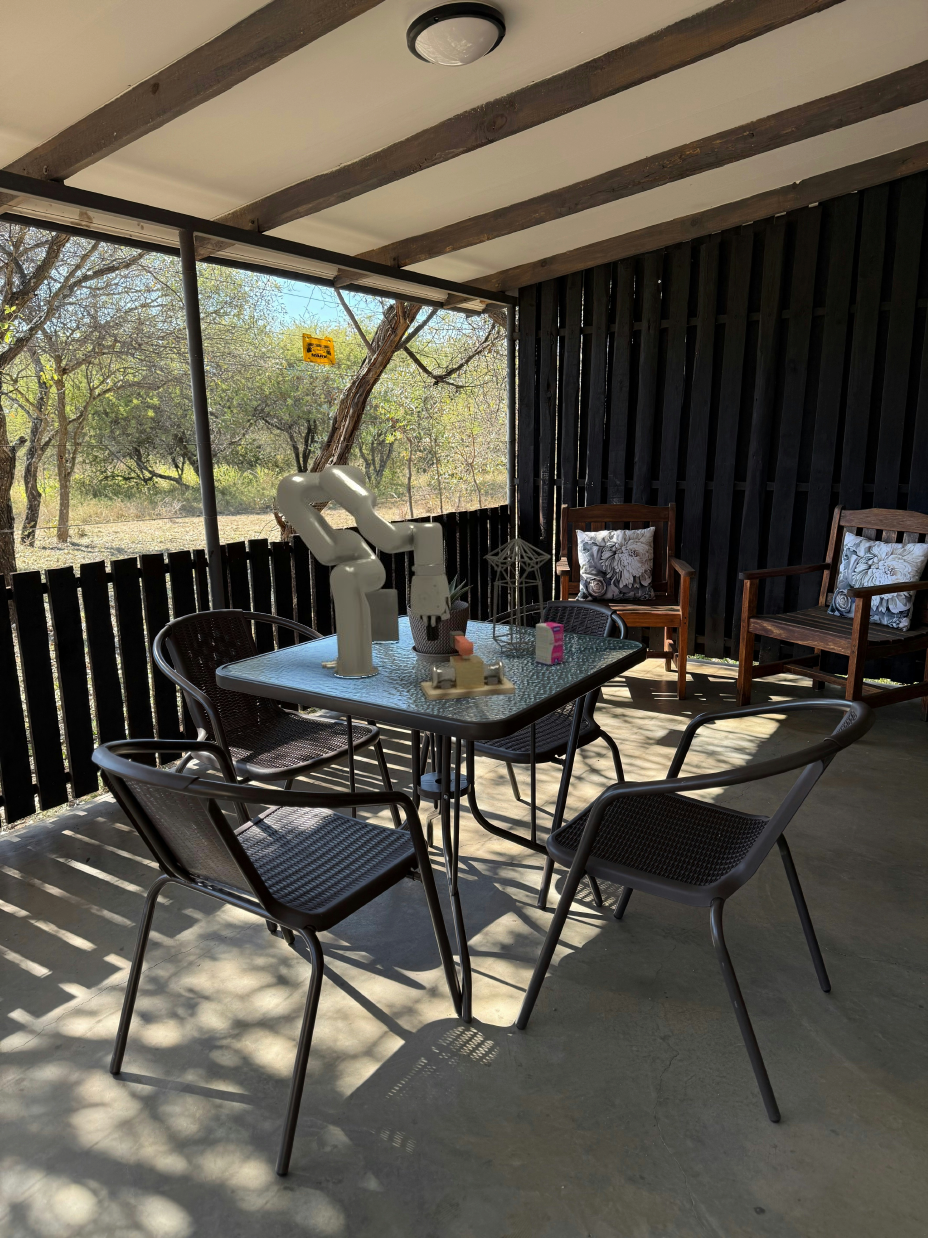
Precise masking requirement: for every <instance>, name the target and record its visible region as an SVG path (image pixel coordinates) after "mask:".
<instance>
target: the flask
mask: <svg viewBox="0 0 928 1238" xmlns="http://www.w3.org/2000/svg"><path fill="white" fill-rule="evenodd" d="M364 594H365V597H366V599H367V602H368V604H369V608H370V618H371V638H372V642H374V641H398V640H399V641H400V630H399V629H400V628H399V627H400V626H399V625H400V624H399V623H400V622H399V604H398V603H399V602H398V601H399V600H398V590H397V589H394V588H389V589H388V588H386V589H385V588H383V589H382V588H379V589H377V590H375V591H372V592H368V593H364Z"/></svg>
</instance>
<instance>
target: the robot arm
mask: <svg viewBox="0 0 928 1238" xmlns="http://www.w3.org/2000/svg"><path fill="white" fill-rule="evenodd" d="M377 498H378V497H377V495H376V493H375V492H374V491H372V490H371V489H370V488H369V487H368V486H367V478H366V476H365V474H364V472H363V471H362V469H360V468H359V467H358V466H355V465H351V464H346V465H345V464H344V465H343V464H342V465H341V464H338V465H336V464H335V465H329V466H327V467H325V468H324V469H323V470H321V471H320V472H295V473H291V474H287V475H285V476H284V477H282V479H280V481H279V482H278V485H277V487H276V501H277V506H278V508H279V510H280V512H281V514H282V516H283V517H284V519H285V520H286V521H287V523H289V524H290V526H291V527H292V529H294V531H296V533H297V534H298V535H299V537H300V538H301V540H302V541H303V542H304V544H305V545H306V547H307V548H308V549H309V550H310V551H311V553H312V555H313V556H314V557H315V558H316V560H317V561H318V562H319V563H320V564H321V565H324V566H335V567H333V569H332V571H331V573H330V577H329V583H330V588H331V592H332V593H331V594H332V596H333V597H332V598H333V602H334V611H335V613H334V614H335V627H336V644H337V657H336V659H333V661H327V660H326V661H322V662H321V669H326V670H332V669H333V671H332V672H333V673H334V674H336V675H339V676H343V677H362V676H369V675H373V674H376V673H378V674H379V671H380V669H379V667H378V666H375V665H374V662H373V644H372V638H371V618H370V608H369V604H368V602H367V599H366V597H365V594H364V593H368V592H372V591H375V590H377V589H382V587H383V585H384V584H385V582H386V569H385V568H384V565H383V563H382V562H381V560H380V559H379V558H378V556H377V555H376V554H375V553H374V551H373V550H372V548H370V546H369V545H368V544H367V542H366V541H365V540H367V541H368V542H369V543H371V544H372V545H373V546H374V547H375V548H377V549H378V550H380V551H382V552H384V553H387V554H395V553H402V552H407V551H408V552H409V551H413V556H414V565H412V566H411V570H412V572H414V575H413V576H412V578H411V586H410V610H411V613H412V614H413V617H415V618H417V619H420V620H421V622H422V623H423V625H424V626H425V631H426V632H425V633H426V641H427V642H435V641H439V640H440V626H439V625H441V624H442V622H443V620H444V621H445V620H447V619H450V618H451V615H450V612H451V607H452V604H451V594H450V587H449V583H448V577H447V575H445V565H444V541H443V527H442V525H441V524H440V523H439V522H414V521H412V522H411V521H405V522H404V521H403V522H401V521H400V522H392V523H390V522H389V521H387V520H386V519H385V518H383V517H382V516H381V515H380V514H378V512H376V510H375V508H376V505H377V502H378V499H377ZM331 501H334V503H336V504H337V505H338V506H340V507H341V508H342V509H343V510H344V511H346V512H347V513H348V514H349V515H351V517H353V519H354V522H355V524H356V528H358V531H359V533H360V534H361V535H362V536H363V537H362V536H361V535H360V534H359V533H358V532H355V531H354V530H351V529H334V528H333V526H331V524H330V523H329V522H328V521H327V519H326V518H325V516H324V515H323V514H322V513H320V511H318V509H316V508H314V507H313V506H312V505H310V504H317V503H326V502H327V503H328V502H331ZM364 538H365V539H364ZM334 674H333V675H334ZM376 675H377V674H376Z"/></svg>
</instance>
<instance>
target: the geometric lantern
mask: <svg viewBox="0 0 928 1238" xmlns="http://www.w3.org/2000/svg"><path fill="white" fill-rule="evenodd" d="M504 548H505V549H504ZM502 550H503V551H502ZM524 550H525V551H526V553H525V551H524ZM533 550H535V551H536V552H538V553H540V554H542V555H539V556H538V555H537V554H536V553H535V552H534V551H533ZM499 551H502V552H500V553H499V554H498V555H497V556H492V555H494V554H496V553H497V552H499ZM509 551H510V552H509ZM519 555H522V556H523V558H519ZM528 557H529V558H531V559H532V560H530V559H529V558H528ZM551 557H552V556H551V555H550V554H548V553H545V552H544V551H543V550H540V549H538V548H537V547H535V546H533V545H532V544H530V543H528V542H527V541H525V540H523V539H521V538H517V537H516V538H513V539H511V540H510V541H508V542H506V543H505V544H503V545H501V546H500V547H498V548H497V549H495V550H493V551H492V552H490V553H488V554H487V555H484V557H482V558H483V559H486V560H487V561H488V562H489V563H490V564H491V565H492V566H493V568H494V571H497V572H496V578H495V582H493V586H494V587H493V589H494V590H493V610H492V611H493V613H492V614H493V615H492V616H493V617H492V619H493V621H492V640H493V641H494V642H495V643H496V644H497V645H498V646H499V647H500V652H499V653H500V655H506V656H509V657H516V658H517V657H522V656H528V655H531V654H536V639H534V640H528V641H523V639H524V636H525V635H527V636H531V637H535V638H536V634H533V633H529V632H527V621H526V619H527V618H526V589H525V587H527V586H533V585H534V586H535V585H537V586H538V587H537V588H538V596H539V597H538V599H539V609H540V610H539V611H540V621H541V622H540V624H541V623H545V622H544V619H545V617H544V603H543V601H544V600H543V583H542V579H541V574H540V573H541V572H540V569H539V568H540V567H541V566H542V565H543V564H544V563H545V562H547V561H548V560H549V559H550V558H551ZM505 558H506V559H505ZM510 558H511V559H510ZM504 559H505V560H504ZM516 559H517V560H516ZM540 561H541V562H540ZM514 562H518V563H519V565H521V567H523V568H524V569H525V572H524V574H523V575H522V577H521V578H520V577H519V576H518V574H517V573H516V572H515V570H514V569H513V567H512V566H511V565H512V563H514ZM523 562H524V563H526V564H524V563H523ZM536 562H538V563H537V564H536ZM501 563H506V564H501ZM529 564H530V565H529ZM497 565H498V566H497ZM507 567H509V568H510V570H511V571H512V572H513V573H514V575H515V576H516V577H517V578H515V579H509V577H508V576H507V574H506V572H505V571H504V570H505V569H507ZM532 567H533V568H532ZM500 571H501V573H502V574H503V575H504V577H505V578H506V579H505V580H500V581H498V579H499V576H500V575H499V574H500ZM531 571H534V573H535V576H536V580H530V579H526V576H527V575H528V573H529V572H531ZM537 571H538V572H537ZM513 581H517V582H516V584H517V585H515V584H512V583H511V582H513ZM506 582H508V584H505V583H506ZM521 582H522V584H521ZM525 582H532V583H527V584H525ZM499 586H504V587H510V633H509V632H508V633H506V634H500V635H496V627H497V626H496V625H497V623H496V622H497V606H498V595H499V594H498V593H499V592H498V591H499ZM520 587H522V594H523V595H522V599H523V600H522V601H523V602H522V603H523V604H522V605H523V632H522V625H521V609H520V607H521V606H520ZM514 588H516V610H515V611H516V616H515V617H516V618H515V632H514V631H513V630H514V629H513V628H514V627H513V624H514V622H513V621H514V619H513V618H514V617H513V616H514V615H513V614H514V612H513V611H514V610H513V609H514V607H513V605H514V599H513V598H514V592H513V591H514ZM513 635H515V641H513ZM507 636H510V642H509V641H506V640H503V639H499V638H502V637H507ZM518 636H519V641H518ZM500 642H501V643H504V644H503V645H501V643H500ZM531 643H535V644H531ZM518 645H519V646H518ZM522 645H526V646H529V647H523V648H521V647H522ZM509 646H512V647H513V648H512V647H509ZM503 648H504V649H507V650H503ZM512 651H515V654H510V653H508V652H512ZM521 651H529V652H526V653H523V654H522V652H521ZM518 652H519V654H518Z"/></svg>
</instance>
